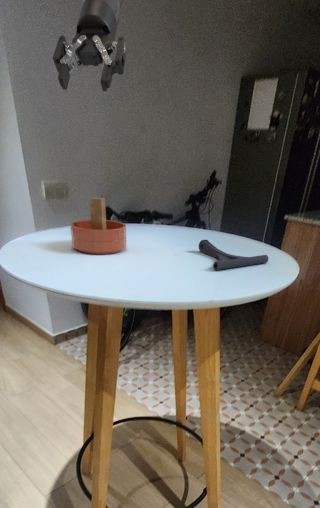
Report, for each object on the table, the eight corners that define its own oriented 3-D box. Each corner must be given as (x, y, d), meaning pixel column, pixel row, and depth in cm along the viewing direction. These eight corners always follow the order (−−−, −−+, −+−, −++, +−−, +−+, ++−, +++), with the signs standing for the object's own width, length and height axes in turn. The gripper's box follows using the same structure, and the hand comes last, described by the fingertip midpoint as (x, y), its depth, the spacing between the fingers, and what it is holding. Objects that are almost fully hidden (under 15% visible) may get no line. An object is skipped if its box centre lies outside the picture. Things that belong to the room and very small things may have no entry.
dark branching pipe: (223, 248, 90) (224, 236, 88) (267, 263, 80) (270, 250, 78) (175, 254, 83) (176, 241, 82) (217, 272, 73) (219, 257, 72)
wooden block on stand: (85, 246, 82) (81, 198, 77) (93, 242, 86) (90, 195, 81) (107, 249, 82) (105, 200, 76) (114, 244, 86) (112, 197, 80)
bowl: (64, 251, 80) (61, 227, 77) (84, 240, 90) (82, 217, 87) (117, 257, 79) (116, 232, 76) (132, 245, 88) (132, 222, 85)
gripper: (59, -5, 72) (41, 64, 70) (129, -5, 70) (112, 66, 68) (72, 39, 79) (56, 103, 77) (136, 40, 77) (121, 106, 75)
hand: (83, 86), depth 73 cm, fingers open, 8 cm apart
